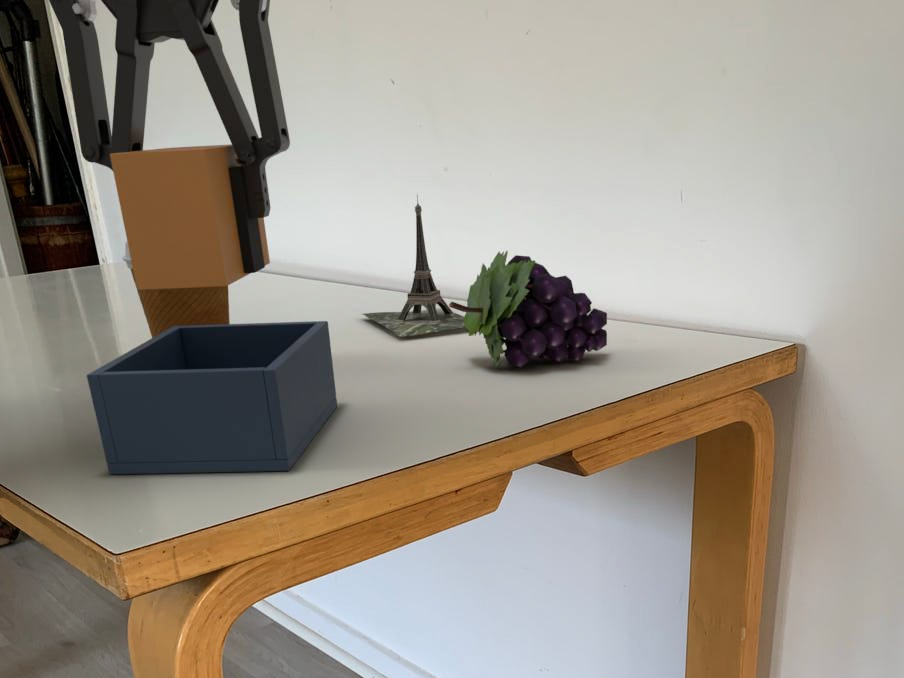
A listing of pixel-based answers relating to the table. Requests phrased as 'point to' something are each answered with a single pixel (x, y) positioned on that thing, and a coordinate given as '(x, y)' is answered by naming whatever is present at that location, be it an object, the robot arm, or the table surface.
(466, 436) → the table surface
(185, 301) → the disposable coffee cup
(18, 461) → the table surface
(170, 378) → the compartment
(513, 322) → the fruit
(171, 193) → the tan cardboard-coloured block
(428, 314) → the eiffel tower figurine
